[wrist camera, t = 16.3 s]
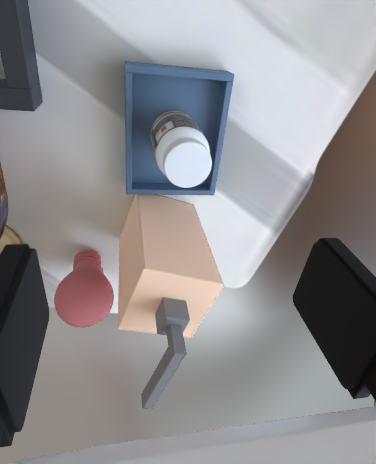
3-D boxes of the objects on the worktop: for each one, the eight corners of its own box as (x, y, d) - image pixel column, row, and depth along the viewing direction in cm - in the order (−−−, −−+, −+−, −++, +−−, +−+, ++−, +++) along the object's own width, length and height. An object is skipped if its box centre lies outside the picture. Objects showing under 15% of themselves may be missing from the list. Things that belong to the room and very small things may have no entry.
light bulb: (124, 260, 48) (124, 323, 38) (85, 281, 49) (76, 347, 39) (95, 229, 44) (87, 289, 34) (54, 252, 45) (35, 317, 35)
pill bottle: (140, 136, 37) (145, 169, 29) (172, 98, 35) (187, 122, 27) (175, 165, 40) (188, 203, 32) (206, 131, 38) (229, 162, 30)
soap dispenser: (137, 188, 41) (147, 318, 24) (195, 205, 44) (243, 331, 27) (111, 260, 47) (104, 407, 30) (164, 270, 50) (186, 410, 33)
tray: (124, 61, 33) (125, 64, 31) (227, 71, 35) (234, 74, 33) (126, 185, 41) (126, 194, 39) (209, 186, 43) (214, 195, 41)
